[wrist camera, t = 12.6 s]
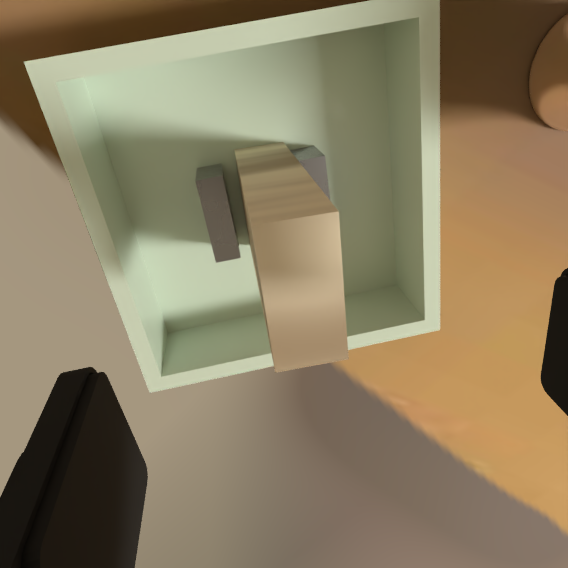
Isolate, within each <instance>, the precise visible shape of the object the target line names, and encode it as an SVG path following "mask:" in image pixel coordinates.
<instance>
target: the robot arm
mask: <svg viewBox="0 0 568 568" xmlns="http://www.w3.org/2000/svg"><path fill="white" fill-rule="evenodd" d="M541 383H542V386H543V388H544V390H545V392H546V393H547V394H548V395H549V396H550V397H551V399H552V400H553V401H554V402H555V403H556V404H557V405H558V406H559V407H560V408H561V409H562V410H563V411H564V412H565V413H566V415H567V416H568V268H567V269H565V270H564V271H563V272H562V274H561V277H559V278H557V280H556V281H555V285H554V291H553V298H552V305H551V311H550V318H549V325H548V331H547V338H546V344H545V351H544V358H543V364H542V371H541ZM147 478H148V476H147V467H146V463H145V461H144V459H143V456H142V454H141V452H140V449H139V447H138V445H137V443H136V440H135V438H134V436H133V434H132V431H131V429H130V427H129V425H128V422H127V420H126V418H125V416H124V413H123V411H122V409H121V407H120V404H119V402H118V400H117V397H116V395H115V393H114V391H113V388H112V386H111V384H110V382H109V380H108V377H107V375H106V374H105V373H104V372H99V373H97V372H96V370H95V369H94V368H92V367H88V368H83V369H78V370H73V371H68V372H63V373H61V374H60V375H59V377H58V378H57V381H56V383H55V385H54V387H53V389H52V392H51V394H50V396H49V398H48V400H47V402H46V405H45V407H44V409H43V411H42V414H41V416H40V418H39V420H38V422H37V424H36V427H35V429H34V431H33V433H32V435H31V438H30V440H29V442H28V444H27V446H26V448H25V450H24V452H23V453H22V454H21V456H20V457H19V459H18V461H17V463H16V465H15V467H14V469H13V471H12V473H11V476H10V478H9V480H8V482H7V484H6V486H5V489H4V491H3V493H2V495H1V497H0V568H135V560H136V554H137V548H138V547H137V546H138V540H139V534H140V527H141V521H142V513H143V507H144V501H145V494H146V487H147Z"/></svg>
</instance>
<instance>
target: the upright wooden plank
mask: <svg viewBox="0 0 568 568" xmlns="http://www.w3.org/2000/svg"><path fill="white" fill-rule="evenodd" d="M234 152H235V158H236V164H237V170H238V176H239V182H240V188H241V194H242V200H243V206H244V212H245V218H246V224H247V231H248V237H249V243H250V248H251V253H252V258H253V263H254V268H255V273H256V278H257V283H258V288H259V293H260V298H261V303H262V308H263V313H264V318H265V323H266V328H267V333H268V338H269V343H270V349H271V354H272V359H273V364H274V369H275V372H281V371H287V370H292V369H298V368H303V367H308V366H314V365H319V364H325V363H330V362H336V361H341V360H346V359H349V357H348V342H347V327H346V312H345V297H344V282H343V267H342V252H341V237H340V222H339V211H338V210H337V208H336V207H335V206H334V205H333V203H332V202H331V201H330V200H329V199H328V197H327V196H326V195H325V194H324V192H323V191H322V190H321V189H320V187H319V186H318V185H317V184H316V182H315V181H314V180H313V179H312V177H311V176H310V175H309V174H308V172H307V171H306V170H305V169H304V167H303V166H302V165H301V164H300V162H299V161H298V160H297V159H296V157H295V156H294V155H293V154H292V152H291V151H290V150H289V149H288V147H287V146H286V145H285V144H284V142H280V143H273V144H267V145H260V146H253V147H247V148H240V149H234Z"/></svg>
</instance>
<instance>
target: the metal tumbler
mask: <svg viewBox="0 0 568 568" xmlns="http://www.w3.org/2000/svg"><path fill="white" fill-rule="evenodd" d="M529 94H530V99H531V103H532V106H533V108H534V110H535V112H536V114H537V115H538V117H539V118H540V119H541V120H542V121H543V122H544V123H546V124H547V125H548V126H550V127H552V128H554V129H557V130H561V131H568V13H567V14H566V15H565V16H563V17H562V18H561V19H560V20H559V21H558V22H557V23H556V24H555V25H554V26H553V27H552V28H551V29H550V31H549V32H548V33H547V35H546V36H545V37H544V39H543V41H542V42H541V44H540V46H539V48H538V50H537V52H536V54H535V57H534V60H533V63H532V66H531V71H530V77H529Z"/></svg>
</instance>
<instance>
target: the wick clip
mask: <svg viewBox="0 0 568 568" xmlns="http://www.w3.org/2000/svg"><path fill="white" fill-rule="evenodd" d="M290 151H291V152H292V154H293V155H294V156H295V157H296V159H297V160H298V161H299V162H300V164H301V165H302V166H303V167H304V169H305V170H306V171H307V172H308V174H309V175H310V176H311V177H312V179H313V180H314V181H315V182H316V184H317V185H318V186H319V187H320V189H321V190H322V191H323V192H324V194H325V195H326V196H327V197H328V199H329V200H330V194H329V186H328V177H327V168H326V160H325V155H324V154H323V153H322V152H321V151H319V150H318V149H317V148H316V147H315V146H309V147H304V148H298V149H293V150H290ZM195 182H196V186H197V190H198V194H199V197H200V201H201V205H202V209H203V213H204V217H205V221H206V225H207V229H208V233H209V237H210V241H211V245H212V249H213V253H214V257H215V261H216V263H218V262H223V261H228V260H233V259H238V258H241V256H240V249H239V242H238V236H237V232H236V227H235V223H234V218H233V214H232V209H231V205H230V200H229V196H228V191H227V187H226V182H225V177H224V173H223V168H222V164H221V163H220V164H215V165H210V166H205V167H200V168H197V171H196V179H195Z"/></svg>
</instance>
